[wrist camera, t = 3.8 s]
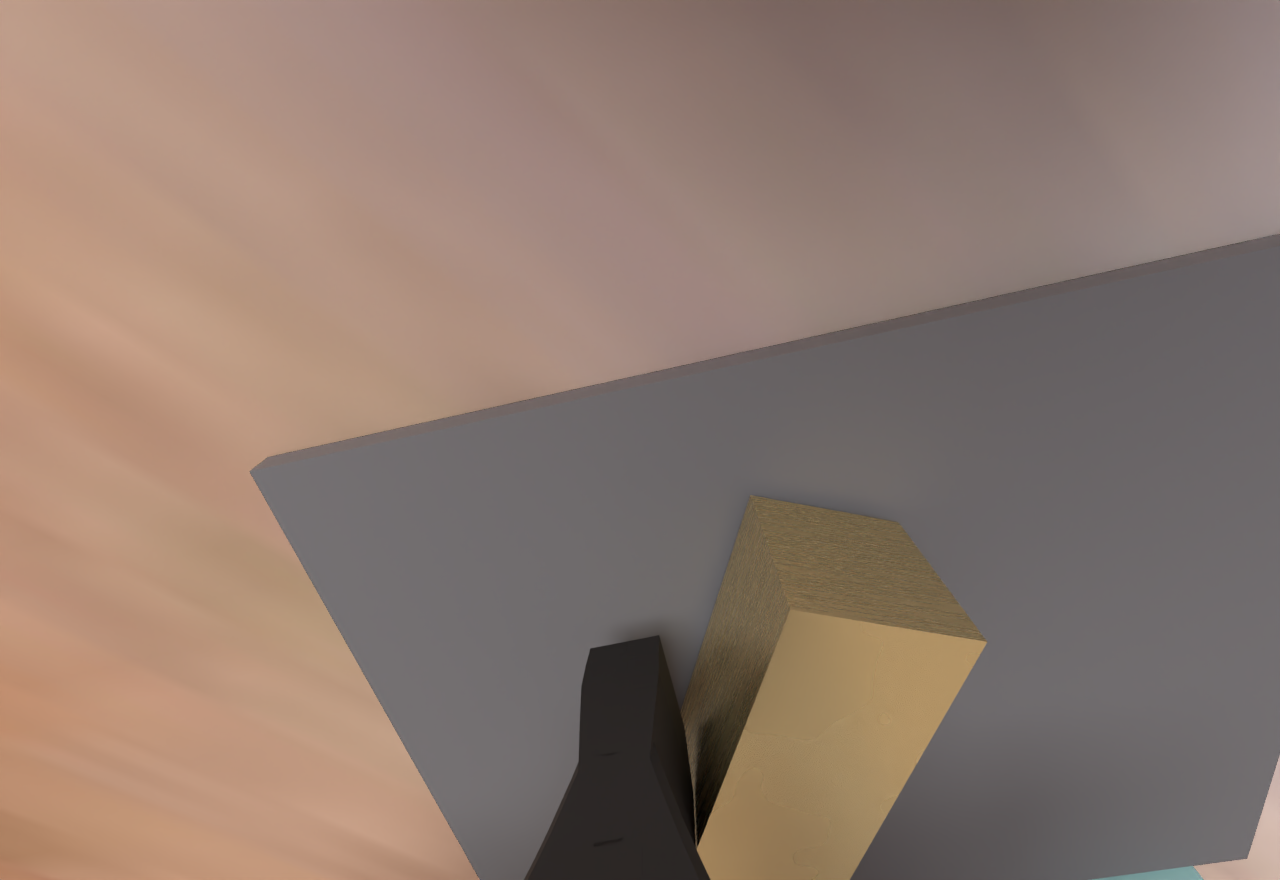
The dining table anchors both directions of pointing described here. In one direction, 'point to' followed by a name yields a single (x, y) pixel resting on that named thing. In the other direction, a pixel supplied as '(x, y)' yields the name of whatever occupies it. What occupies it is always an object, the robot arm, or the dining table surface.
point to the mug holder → (1161, 875)
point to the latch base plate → (881, 488)
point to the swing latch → (816, 690)
